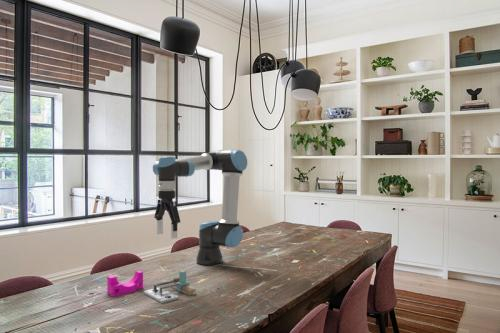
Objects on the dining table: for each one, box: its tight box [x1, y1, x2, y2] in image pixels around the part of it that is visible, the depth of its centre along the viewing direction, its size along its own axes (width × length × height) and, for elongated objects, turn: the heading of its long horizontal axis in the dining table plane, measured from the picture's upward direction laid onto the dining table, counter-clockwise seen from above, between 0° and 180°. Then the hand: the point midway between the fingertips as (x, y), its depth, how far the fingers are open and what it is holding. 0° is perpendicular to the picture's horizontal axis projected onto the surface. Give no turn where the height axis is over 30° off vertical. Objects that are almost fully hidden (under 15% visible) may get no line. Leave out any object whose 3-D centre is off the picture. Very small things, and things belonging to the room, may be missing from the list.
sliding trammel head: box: [159, 269, 190, 293], centre depth 169 cm, size 14×3×8 cm, turn 132°
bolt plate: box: [143, 286, 180, 304], centre depth 165 cm, size 8×16×1 cm, turn 42°
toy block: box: [106, 269, 144, 297], centre depth 171 cm, size 15×6×8 cm, turn 130°
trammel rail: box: [153, 276, 197, 296], centre depth 169 cm, size 13×16×4 cm
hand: (166, 236), depth 176 cm, fingers open, 13 cm apart
